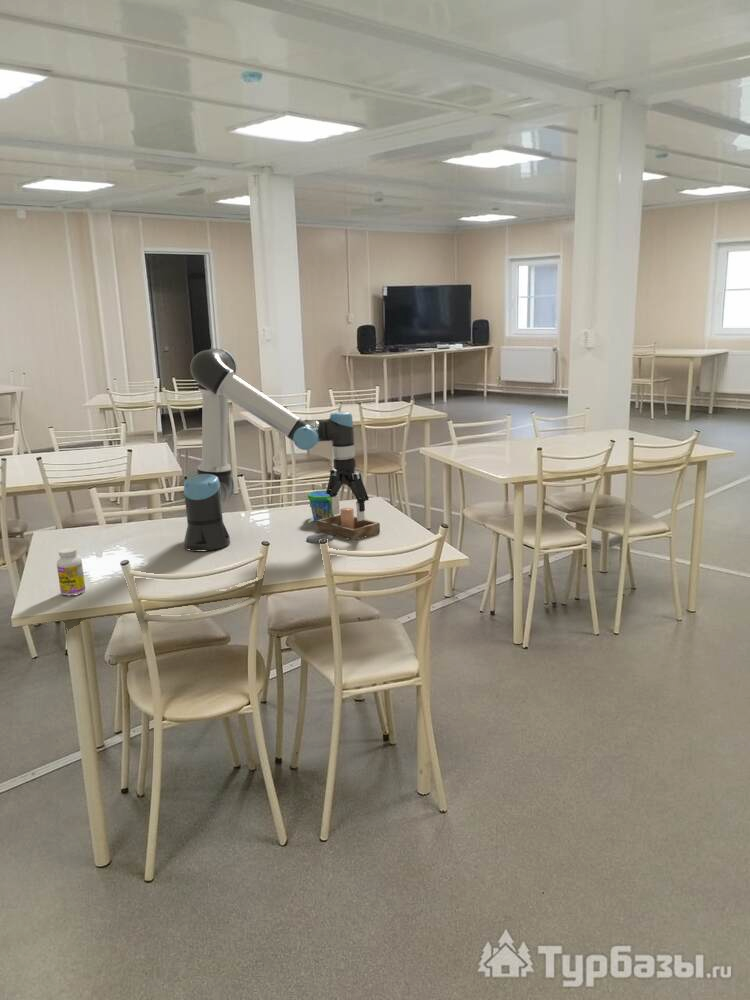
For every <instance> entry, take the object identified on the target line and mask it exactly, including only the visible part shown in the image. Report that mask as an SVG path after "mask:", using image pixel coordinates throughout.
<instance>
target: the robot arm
mask: <svg viewBox="0 0 750 1000" xmlns="http://www.w3.org/2000/svg"><path fill="white" fill-rule="evenodd" d="M189 367H190V374H191V376H192V378H193V380H194V381H195V382H196V383H197V389H198V391H199V392H200V393H201V395H202V405H201V406H202V408H201V409H202V410H201V411H202V414H201V415H202V417H201V420H202V421H201V423H202V424H201V426H202V427H201V430H202V431H201V432H202V433H201V437H202V438H201V463H200V464H199V465H198V466H197V468H196V470H197V472H196V473H197V474H196V475H195V474H194V476H189V477H188V478H187V479H185V481H184V482H183V495H184V503H185V510H186V511H185V512H186V519H187V520H186V522H187V526H186V527H187V528H186V531H185V536H184V540H183V543H184V549H185V548H187V549H190V550H212V551H215V550H214V549H217V550H220V549H219V548H221V549H223V547H224V548H226V547H228V546H229V545H230V544H231V538H230V534H229V532H228V530H227V527H226V525H225V524H224V520H223V519H224V518H223V508H222V507H223V506H222V505H224V504H225V503H226V502H227V501H228V500H229V499H230V498H231V497H232V496H233V492H234V490H235V482H234V478H233V476H232V466H231V465H229V463H228V429H229V428H228V427H229V426H228V424H229V423H228V422H229V401H231V402H232V403H234V404H235V405H237V406H239V407H240V408H241V409H243V410H245V411H246V412H248V413H250V414H251V415H252V416H254V417H255V418H257V419H258V420H260V421H261V422H263V423H265V424H266V425H268V426H270V427H271V428H272V429H274V430H276V431H277V432H279V433H280V434H281V435H282V436H283V435H284V436H285V437H286V438H288V439H289V440H291V441H292V442H293V443H294V445H295V447H297V448H298V449H299V450H303V451H308V450H311V449H314V447H316V446H317V445H318V443H319V442H331V444H332V445H331V447H332V457H333V468H332V469H330V470H329V471H330V472H329V480H328V484H327V486H326V487H327V488H326V493H327V494H329V495H330V497H331V505H332V513H333V515H334V516H336V515H340V514H341V511H340V509H341V508H340V497H339V496H340V495H339V491H340V489H341V487H342V486H343V485H346V486H347V487H349V488H350V490H351V492H352V494H353V496H354V497H355V499H356V503H355V506H356V517H357V521H362V520H365V519H366V517H365V510H366V508H365V507H366V505H365V502H366V501H370V500H369V495H368V493H367V490H366V488H365V485H364V482H363V480H362V474H361V472H356V473H355V468H356V467H357V464H356V457H355V456H356V453H355V452H356V451H355V435H354V423H353V422H354V420H353V415H352V413H351V412H349V411H338V412H337V411H335V412H332V413H330V417H329V418H326V419H325V418H324V419H302V418H300V417H299V416H298V415H297V414H295V413H293V412H292V411H290V410H288V409H287V408H286V407H284V406H282V405H281V404H280V403H278V402H276V401H275V400H273V399H272V398H270V397H268V396H267V395H266V394H264V393H262V392H261V391H259V390H258V389H256V387H254V386H252V385H250V384H249V383H247V382H246V381H244V380H243V379H241V378H240V377H238V376H237V375H236V372H237V363H236V360H235V358H234V357H233V355H232V354H231V353H230V352H229V351H227V350H225V349H222V348H221V349H220V348H210V349H205V350H201V351H199V352H198V353H196V354H195V355H194V356H193V358H192V359H191V361H190V365H189ZM336 495H337V496H336ZM227 545H228V546H227ZM225 546H226V547H225ZM187 549H186V550H187Z"/></svg>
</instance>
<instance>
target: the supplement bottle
mask: <svg viewBox="0 0 750 1000" xmlns="http://www.w3.org/2000/svg"><path fill="white" fill-rule="evenodd" d="M77 554H78V551H77V548H75V547H65V548H62V549H59V550H58V556H59V559H58V560H57V562H56V568H57V569H56V570H57V574H58V576H57V577H58V583H59V584H58V585H59V589H60V590H59V591H60V594H61V595H62V594H63V595H74V594H79V593H82V592H83V593H84V592H85V591H86V583H85V582H86V581H85V575H84V569H83V568H84V567H83V562H82V558H81V557H80V556H78V555H77ZM83 593H82V594H83ZM63 595H62V596H63Z"/></svg>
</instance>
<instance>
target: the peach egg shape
mask: <svg viewBox="0 0 750 1000" xmlns="http://www.w3.org/2000/svg"><path fill="white" fill-rule="evenodd" d="M339 509H340V514H341V525H340V526H343V527H347V528H350V529H356V527H355V526H354V517H355V511H354V508H353V507H344V508H339Z"/></svg>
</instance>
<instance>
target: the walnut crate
mask: <svg viewBox="0 0 750 1000" xmlns="http://www.w3.org/2000/svg"><path fill="white" fill-rule="evenodd" d="M354 526H355V529H350V528H347V527H343V526H341V513H340V514H337V515H334V516H332V517H328V518H324V519H320V520H317V521H316V530H317V531H319V532H322V533H323V532H324V533H325V534H330V535H332V536H337V537H340V538H343V537H344V539H347V538H348V539H347V540H350V539H352V540H351V541H356V540H355V539H357V540H359V539H358V538H360V539H363V538H362V537H364V538H366V537H365V536H367V537H369V536H368V535H370V536H373V535H372V534H374V535H376V534H375V533H377V534H379V532H380V533H381V530H380V529H381V526H380V522H377V521H373V520H369V519H366V518H365V520H362V521H357V516H354ZM356 527H357V528H356Z"/></svg>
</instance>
